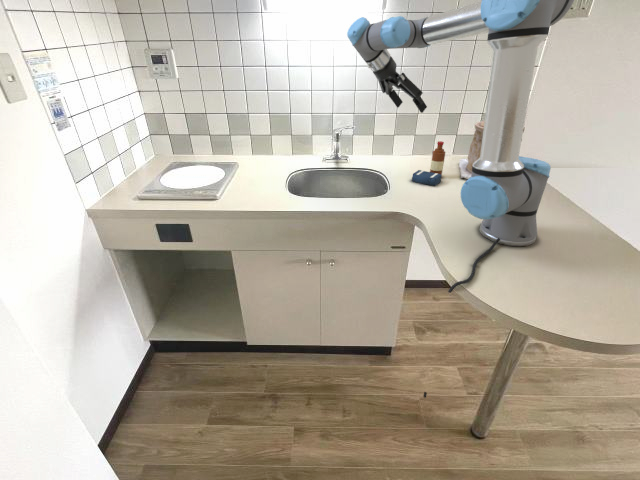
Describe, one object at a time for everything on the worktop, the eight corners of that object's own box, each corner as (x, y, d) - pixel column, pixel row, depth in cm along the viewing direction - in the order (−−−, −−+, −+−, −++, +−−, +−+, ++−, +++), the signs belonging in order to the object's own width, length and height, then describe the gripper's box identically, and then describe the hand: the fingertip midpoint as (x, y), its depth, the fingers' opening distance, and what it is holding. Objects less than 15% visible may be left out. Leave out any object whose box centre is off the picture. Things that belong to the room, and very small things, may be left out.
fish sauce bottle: (438, 179, 147) (444, 144, 139) (427, 177, 149) (432, 142, 142) (443, 176, 150) (449, 141, 143) (431, 174, 153) (437, 139, 145)
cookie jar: (459, 180, 146) (475, 98, 130) (458, 162, 166) (471, 90, 151) (524, 185, 139) (549, 100, 124) (515, 167, 160) (535, 92, 144)
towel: (433, 187, 139) (434, 179, 138) (410, 182, 145) (411, 174, 143) (440, 181, 145) (441, 174, 143) (417, 177, 150) (418, 169, 148)
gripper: (354, 70, 126) (385, 110, 140) (397, 75, 107) (428, 120, 120) (367, 53, 126) (397, 95, 139) (413, 55, 107) (442, 103, 120)
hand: (411, 107), depth 130 cm, fingers open, 13 cm apart
